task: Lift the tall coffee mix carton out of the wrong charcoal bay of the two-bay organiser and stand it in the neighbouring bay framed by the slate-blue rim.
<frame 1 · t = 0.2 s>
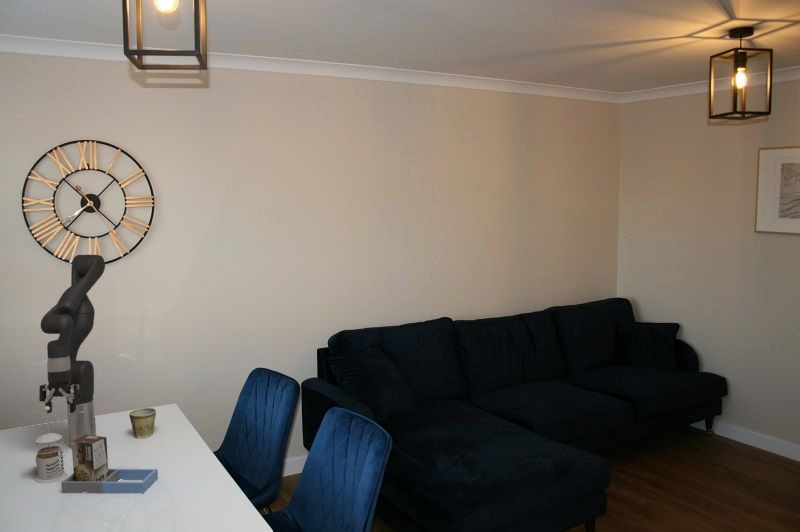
hand: (60, 412, 232), 17 cm above the table, tool pointing down, fingers open, 8 cm apart
lemon: (45, 470, 223), on the table
coffee box: (92, 486, 210), resting in organiser
organiser: (111, 485, 210), on the table
ceramic cup: (145, 434, 257), on the table
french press: (53, 476, 218), on the table
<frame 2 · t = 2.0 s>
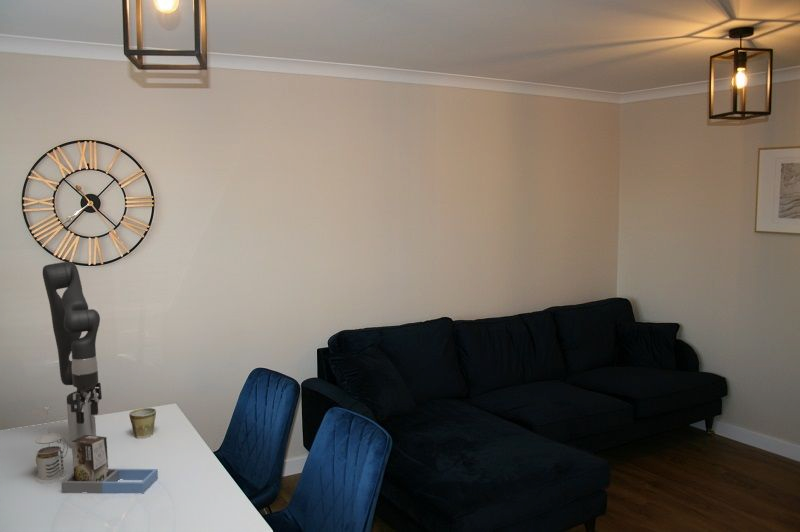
hand: (87, 418, 208), 23 cm above the table, tool pointing down, fingers open, 8 cm apart
nothing on the table moved.
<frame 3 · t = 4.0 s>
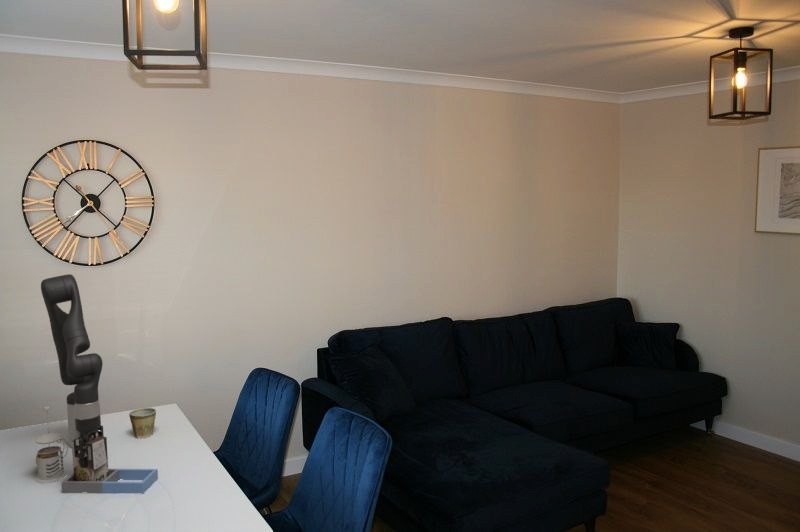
hand: (90, 462, 209), 8 cm above the table, tool pointing down, fingers closed on coffee box, 7 cm apart
coffee box: (92, 486, 210), resting in organiser, touching gripper
everything else where it was.
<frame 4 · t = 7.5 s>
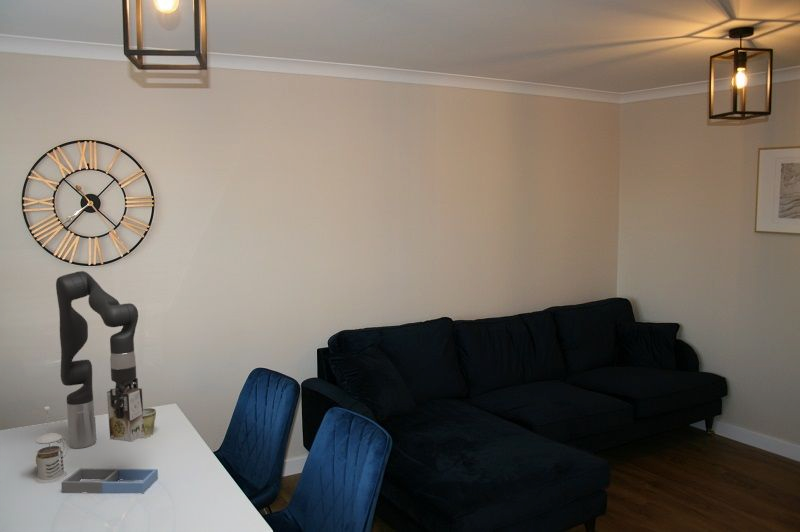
hand: (125, 414, 207), 25 cm above the table, tool pointing down, fingers closed on coffee box, 7 cm apart
coffee box: (127, 438, 208), point 16 cm above the table, touching gripper
everything else where it was.
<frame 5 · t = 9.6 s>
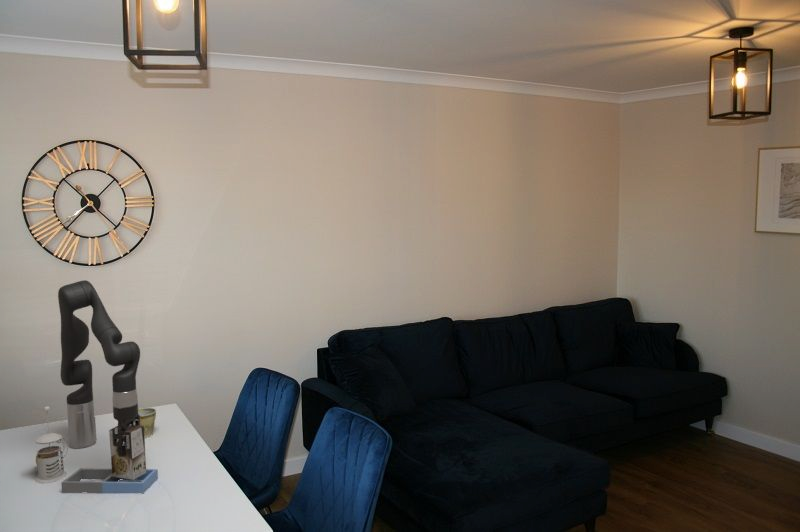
hand: (127, 451, 208), 12 cm above the table, tool pointing down, fingers closed on coffee box, 7 cm apart
coffee box: (129, 475, 209), point 4 cm above the table, touching gripper
everything else where it was.
when the fingers open (9 cm above the table, at t = 11.4 s): coffee box stays where it is, resting in organiser.
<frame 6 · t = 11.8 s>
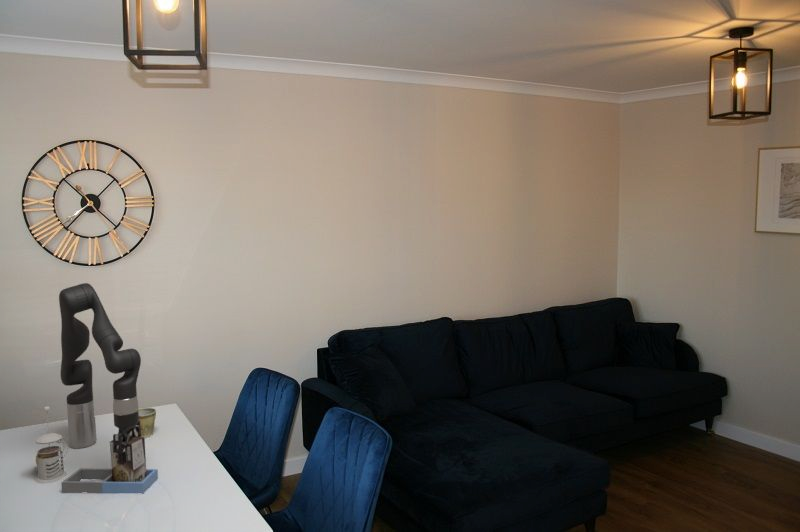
hand: (128, 457, 209), 10 cm above the table, tool pointing down, fingers open, 8 cm apart
coffee box: (130, 486, 210), resting in organiser
everything else where it was.
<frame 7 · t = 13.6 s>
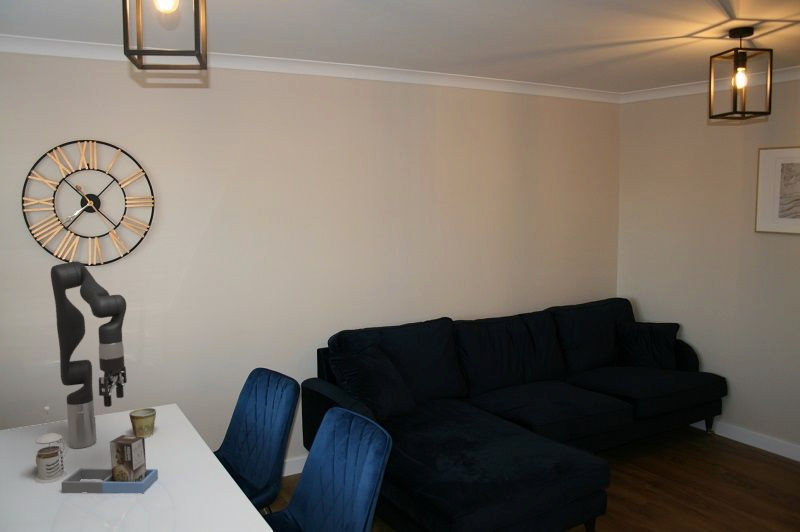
hand: (114, 401, 212), 27 cm above the table, tool pointing down, fingers open, 8 cm apart
nothing on the table moved.
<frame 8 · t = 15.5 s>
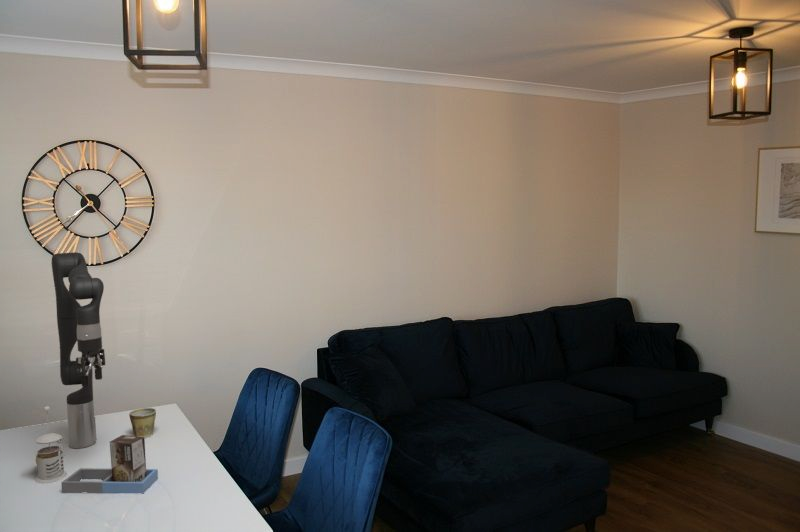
hand: (92, 382, 217), 32 cm above the table, tool pointing down, fingers open, 8 cm apart
nothing on the table moved.
at the end: coffee box 0.1 cm from the target spot on the organiser, point 0.0 cm above the organiser's base; coffee box tilted 0°; the gripper is holding nothing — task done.
